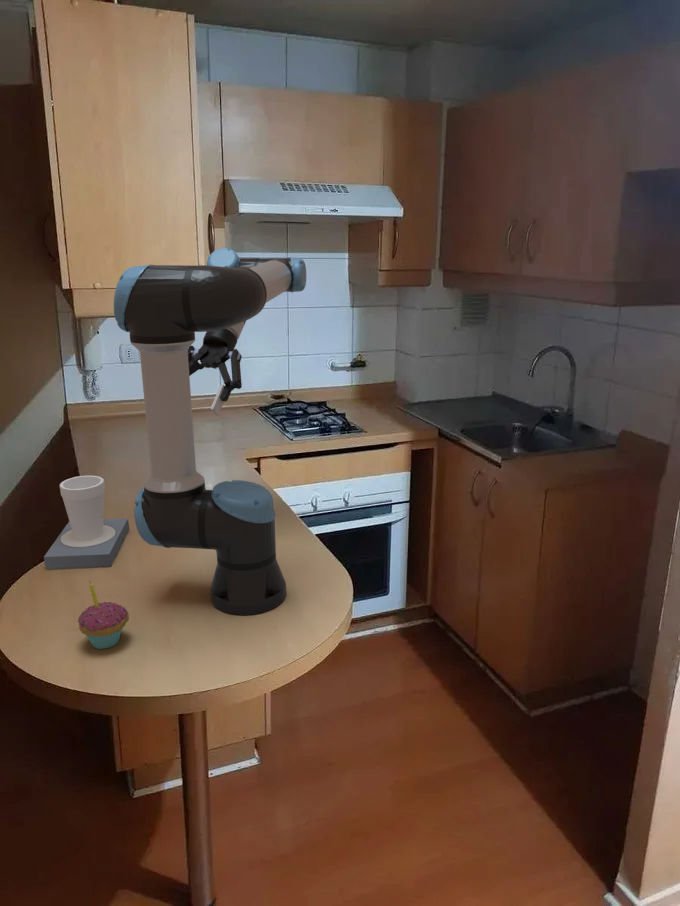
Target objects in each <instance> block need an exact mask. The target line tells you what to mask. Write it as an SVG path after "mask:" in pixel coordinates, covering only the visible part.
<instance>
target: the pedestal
mask: <svg viewBox="0 0 680 906" xmlns="http://www.w3.org/2000/svg"><path fill="white" fill-rule="evenodd" d="M129 531H130V524H129V518H128V517H127V518H126V517H125V518H124V517H122V518H103V535H102V536H100V537H99V538H96V539H94V540H88V541H80V540H76V539H75V538H74V535H73V531H72V528H71V525H70V521H69V520H68V523H67V524H66V525H65V527H64V528H63V529H62V531H61V532H60V533H59V535H58V536H57V538H56V539H55V540H54V542H53V543H52V545H51V546H50V547H49V549H48V551H47V552H46V553H45V555H44V556H43V561H44V568H45V570H62V569H64V570H65V569H78V568H79V569H82V568H83V569H85V568H87V569H88V568H105V567H106V568H107V567H112V565H113V562H114V561H115V559H116V557H117V555H118V553H119V551H120V550H121V547H122V545H123V543H124V541H125V539H126V537H127V535H128V533H129Z"/></svg>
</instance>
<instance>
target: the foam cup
mask: <svg viewBox="0 0 680 906" xmlns="http://www.w3.org/2000/svg"><path fill="white" fill-rule="evenodd" d="M59 490H60V497H62V501H63V503H64V508H65V510H66V511H65V512H66V513H67V517H68V522H69V521H70V525H71V528H72V531H73V535H74V538H75V539H76V540H80V541H88V540H94V539H96V538H99V537H100V536H102V535H103V519H104V514H105V513H104V511H105V510H104V509H105V508H104V505H105V504H104V503H105V501H104V499H105V497H104V496H105V490H106V487H105V479H104V478H102V477H101V476H98V475H80V476H79V475H78V476H74V477H71V478H68V479H65V480H63V481H62V482H60V483H59Z"/></svg>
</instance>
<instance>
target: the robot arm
mask: <svg viewBox="0 0 680 906" xmlns="http://www.w3.org/2000/svg"><path fill="white" fill-rule="evenodd" d="M306 284H307V267H306V262H305V260H304V259H302V258H298V257H270V258H269V257H268V258H264V257H263V258H260V257H240V256H239V255H238V254H237V251H235V250H233V249H231V248H229V247H220V248H217V249H215V250H214V251H212V252H211V253H210V254H209V255H208V257H207V260H206V264H205V265H202V264H199V265H182V264H180V265H179V264H177V265H175V264H174V265H172V264H167V265H165V264H164V265H163V264H158V265H157V264H147V265H146V264H145V265H134V266H131V267H129V268H127V269H125V271H123V273H122V274H121V275H120V277H119V279H118V282H117V283H116V286H115V291H114V295H113V315H114V319H115V321H116V323H117V326H118V328H119V329H120V330H122V331H124V332H128V333H129V340H130V341H129V342H130V344H131V345H132V346H133V347H135V349H136V350H138V351H139V356H140V369H141V380H142V389H143V390H142V391H143V403H144V411H145V414H144V415H145V422H146V434H147V444H148V445H147V446H148V456H149V468H150V475H149V476H148V478H146V479H145V481H144V482H143V488H141V489H140V490H139V491H138V493H137V494H136V497H135V501H134V504H135V507H133V512H134V513H133V516H134V523H135V528H136V529H137V532H138V534H139V536H140V538H141V540H143V541H144V542H146V543H147V544H148V545H150V546H155V547H158V546H159V547H163V548H167V549H170V548H179V549H180V548H181V549H197V550H198V549H199V550H201V549H202V550H215V551H216V552H215V553H216V561H217V563H216V568H215V571H214V574H213V578H212V581H211V585H210V588H209V589H210V591H209V592H210V601H211V604H212V605H213V606H214V607H215V609H217V610H219V611H221V612H224V613H227V614H231V615H238V616H240V615H241V616H243V615H244V616H246V615H247V616H248V615H255V614H262V613H266V612H268V611H271V610H273V609H274V608H275V609H276V608H277V607H278V606H280V605H281V604H282V603H283V602H284V601H285V599H286V597H287V583H286V580H285V577H284V575H283V572H282V570H281V568H280V565H279V563H278V560H277V553H276V552H277V550H276V549H277V548H276V547H277V546H276V545H277V544H276V522H275V519H276V511H275V508H274V507H275V506H274V498H273V495H272V493H271V492H270V491H269V490H268V489H267V488H266V487H265V486H263V485H261V484H259V483H256V482H252V481H249V480H242V479H241V480H239V479H237V480H236V479H234V480H231V481H230V480H229V481H228V480H225V481H222V482H218V483H217V484H215V485H214V486H213V488H212V489H206V484H205V483H206V482H205V477H204V475H202V474H201V473H200V472H198V471H197V466H196V464H197V463H196V452H195V436H194V435H195V434H194V424H193V423H194V422H193V406H192V395H191V392H192V391H191V382H190V381H191V380H190V378H191V376H192V375H193V374H194V373H196V372H197V371H199V370H203V369H204V368H205V369H210V368H212V369H214V370H217V369H218V370H219V373H220V376H221V377H222V381H223V384H221V383H220V386H219V387H218V389H217V392H216V394H215V397H214V399H213V402H212V404H211V406H210V410H211V411H212V413H214V415H215V416H219V415H220V413H221V410H222V408H223V405H224V404H225V403H226V402H227V401H228V400H229V398H230V396H231V393H232V391H234V390H235V389H237V390H240V389H242V387H243V383H242V374H241V373H242V372H241V362H242V357H243V356H242V354H241V352H240V351H239V350H238V349H237V348H236V345H237V344H238V341H239V338H240V336H241V335H242V334H241V333H242V332H243V329H244V327H245V324H246V322H247V321H248V320H250V319H253V318H254V317H255V316H257V315H259V313H260V312H261V311H263V310H264V308H265V306H266V304H267V303H269V302H270V301H272V300H273V299H275V298H276V297H278V296H280V295H282V294H283V293H287V292H288V293H294V292H302V291H304V290H305V288H306V286H307V285H306ZM200 332H201V333H202V332H203V333H204V332H205V334H204V337H203V338H202V340H203V341H202V345H201V346H200V348H196V347H195V346H193V344H194V343H195V341H196V333H200ZM229 360H230V368H231V375H230V373H229V371H228V367H227V365H226V362H227V361H229ZM199 361H200V362H199ZM230 376H231V377H230Z"/></svg>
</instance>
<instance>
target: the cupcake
mask: <svg viewBox="0 0 680 906" xmlns="http://www.w3.org/2000/svg"><path fill="white" fill-rule="evenodd" d="M88 582H89V589H90V593H91V597H92V600H93V604H92V605H91V606H88V608H85V610H84V611H82V612H81V614H80V615H79V616H78V619H77V623H78V629H79V632H81V633H82V634H83V635H85V636H86V637H87V638H88V641H89V642H90V644H91V646H92V647H93V648H95V649H98V650H99V649H100V650H102V649H103V650H105V649H110V648H112V647H114V646H116V645H117V644H118V643H119V641H120V637H121V635H122V633H121V632H122V630H123V628H124V627H125V626H126V624H127V623H128V621H129V619H130V618H129V617H130V616H129V612H128V610H127V609H126V607H125V606H122V604H119V603H116V602H112V601H110V602H108V601H107V602H106V601H104V602H98V601H99V600H98V597H97V594H96V590H95V587H94V584H93V583H92V581H91V580H90V579H89V580H88Z"/></svg>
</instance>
